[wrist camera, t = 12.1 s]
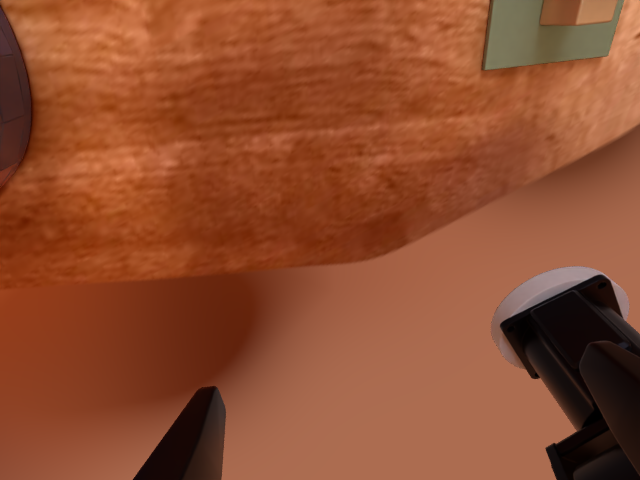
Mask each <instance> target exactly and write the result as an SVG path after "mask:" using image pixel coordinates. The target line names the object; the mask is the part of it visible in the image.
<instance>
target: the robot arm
mask: <svg viewBox="0 0 640 480" xmlns="http://www.w3.org/2000/svg"><path fill="white" fill-rule="evenodd" d="M500 329H501V330H502V332H503V334H504V335H505V337H506V338H507V340H508V341H509V343H510V345H511V346H512V348H513V349H514V351H515V353H516V354H517V356H518V357H519V359H520V361H521V362H522V364H523V365H524V367H525V369H526V370H527V372H528V373H529V375H530V376H531V378H533V379H538V378H541V379H542V381H543V382H544V384H545V385H546V387H547V388H548V390H549V391H550V392H551V394H552V395H553V397H554V398H555V399H556V401H557V403H558V404H559V406H560V407H561V408H562V410H563V411H564V413H565V414H566V416H567V417H568V419H569V420H570V422H571V423H572V425H573V426H574V427H575V429H576V430H577V432H575V433H574V434H572V435H570V436H569V437H567V438H565V439H564V440H562V441H560V442H559V443H557V444H555V443H553V444H551V445H550V446H548V447H546V451H547V454H548V457H549V459H550V462H551V466H552V469H553V471H554V474H555V476H556V479H557V480H640V334H639V333H638V332H637V331H636V330H635V329H634V328H633V327H631V326H630V325H629V324H628V323H627V322H626V321H625V320H624V319H623V316H622V313H621V310H620V307H619V304H618V301H617V298H616V295H615V292H614V289H613V286H612V284H611V281H610V280H609V279H608V278H607V277H606V276H605V275H602V274H600V275H596V276H593V277H591V278H589V279H587V280H585V281H583V282H581V283H579V284H577V285H575V286H573V287H571V288H569V289H567V290H565V291H563V292H561V293H559V294H557V295H555V296H553V297H551V298H549V299H546V300H544V301H542V302H540V303H538V304H536V305H534V306H532V307H530V308H528V309H526V310H524V311H522V312H520V313H518V314H516V315H514V316H512V317H510V318H508V319H506V320H504V321H502V322H501V324H500ZM225 418H226V410H225V405H224V403H223V400H222V398H221V395H220V392H219V390H218V388H217V387H216V386H210V387H202V388H200V389H198V390H197V392H196V393H195V394H194V396H193V397H192V398H191V400H190V401H189V403H188V404H187V405H186V407H185V408H184V409H183V411H182V412H181V414H180V415H179V416H178V418H177V419H176V420H175V422H174V423H173V425H172V426H171V427H170V429H169V430H168V432H167V433H166V434H165V436H164V437H163V439H162V440H161V441H160V443H159V444H158V446H157V447H156V448H155V450H154V451H153V452H152V454H151V455H150V457H149V458H148V459H147V461H146V462H145V464H144V465H143V466H142V468H141V469H140V470H139V472H138V473H137V475H136V476H135V477H134V479H133V480H221V477H222V464H223V448H224V434H225Z"/></svg>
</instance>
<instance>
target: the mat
mask: <svg viewBox="0 0 640 480" xmlns="http://www.w3.org/2000/svg"><path fill="white" fill-rule="evenodd" d="M543 2H544V0H491V2H490V10H489V18H488V26H487V34H486V42H485V50H484V57H483V65H482V70H492V69H501V68H510V67H518V66H527V65H536V64H544V63H553V62H562V61H570V60H579V59H588V58H596V57H605V56H608V54H609V51H610V47H611V44H612V40H613V37H614V33H615V30H616V26H617V23H618V19H619V16H620V13H621V9H622V6H623V2H624V0H618V2H617V5H616V9H615V12H614V16H613V19H612V21H610V22H606V23H597V24H588V25H580V26H559V25H540V18H541V13H542V8H543Z"/></svg>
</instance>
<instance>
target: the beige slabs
mask: <svg viewBox="0 0 640 480" xmlns="http://www.w3.org/2000/svg"><path fill="white" fill-rule="evenodd" d="M617 2H618V0H544V2H543V8H542V13H541V18H540V25H559V26H580V25H588V24H597V23H606V22H610V21H612V19H613V16H614V12H615V9H616V5H617Z"/></svg>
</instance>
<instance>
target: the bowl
mask: <svg viewBox="0 0 640 480" xmlns="http://www.w3.org/2000/svg"><path fill="white" fill-rule="evenodd" d="M30 127H31V96H30V90H29V84H28V78H27V73H26V69H25V66H24V63H23V59H22V56H21V52H20V49H19V46H18V44H17V42H16V39H15V37H14V34H13V32H12V30H11V27H10V25H9V22H8V20H7V18H6V16H5V14H4V13H3V11H2V9H1V7H0V187H2V186H3V185H4V184H5V183H6V182H7V181H8V179H9V178H10V177H11V176H12V175H13V174H14V172H15V171H16V169H17V167H18V166H19V164H20V162H21V160H22V158H23V156H24V153H25V150H26V147H27V144H28V141H29V135H30Z"/></svg>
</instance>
